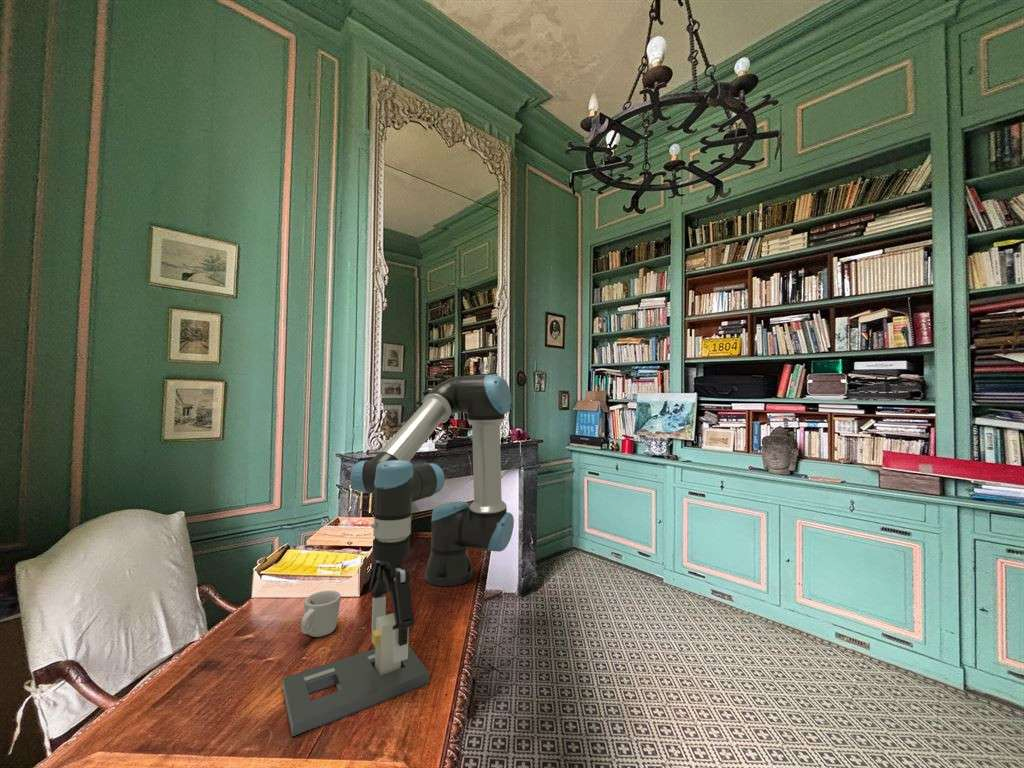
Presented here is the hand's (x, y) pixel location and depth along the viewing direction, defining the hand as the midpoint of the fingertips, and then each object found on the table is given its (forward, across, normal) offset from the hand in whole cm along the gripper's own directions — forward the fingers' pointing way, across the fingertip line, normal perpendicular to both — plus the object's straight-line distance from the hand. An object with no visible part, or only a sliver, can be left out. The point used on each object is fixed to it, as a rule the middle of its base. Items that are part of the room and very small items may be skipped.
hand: (388, 643), depth 83 cm
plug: (+6, 0, 0) cm, 6 cm away
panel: (+6, 0, -6) cm, 9 cm away
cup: (+7, -24, -9) cm, 26 cm away
